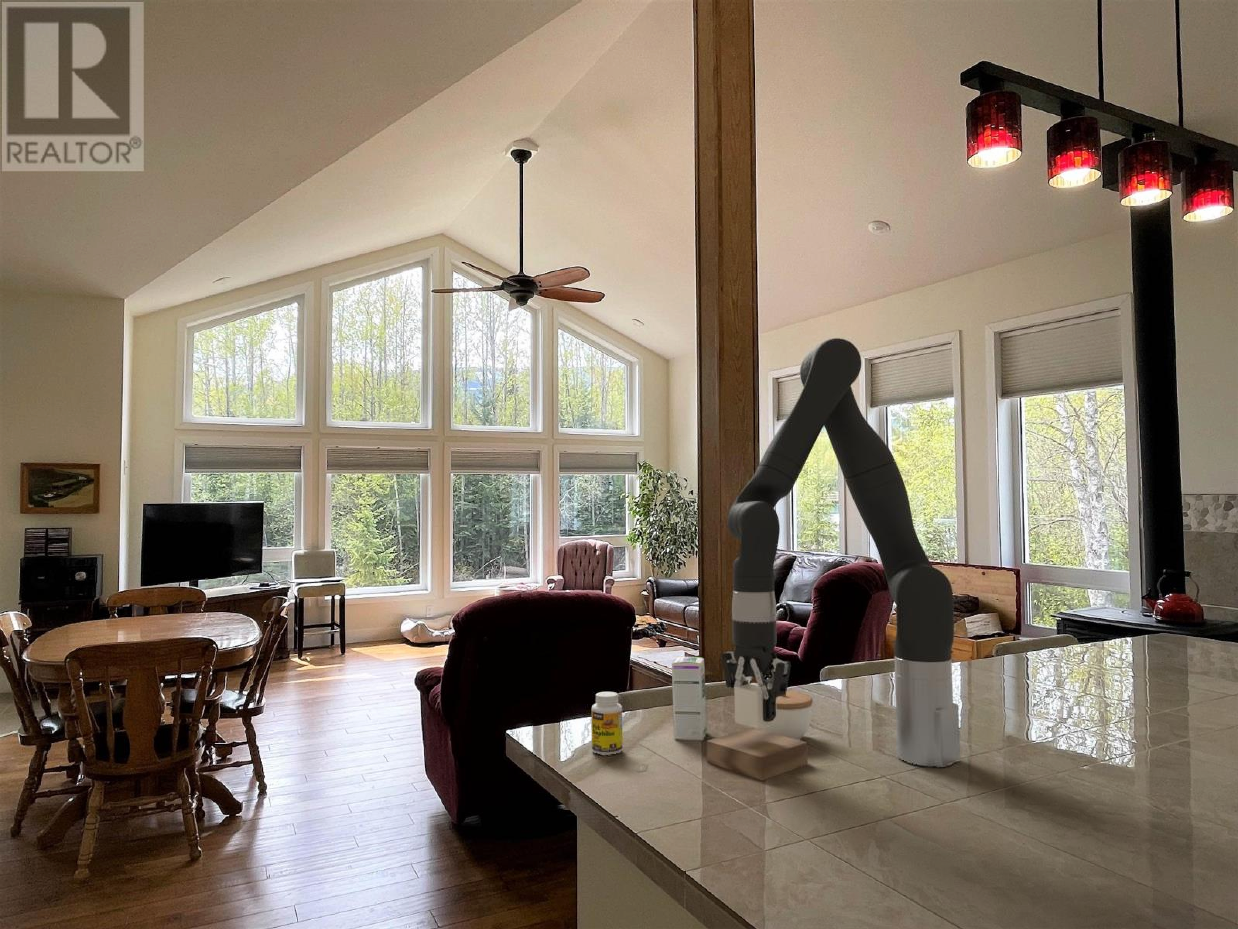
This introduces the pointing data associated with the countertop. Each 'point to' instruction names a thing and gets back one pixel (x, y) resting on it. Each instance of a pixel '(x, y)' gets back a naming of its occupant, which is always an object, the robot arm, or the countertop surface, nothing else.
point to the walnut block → (757, 753)
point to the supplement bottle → (606, 724)
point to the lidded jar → (792, 715)
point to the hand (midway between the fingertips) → (755, 717)
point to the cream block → (750, 706)
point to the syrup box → (689, 698)
